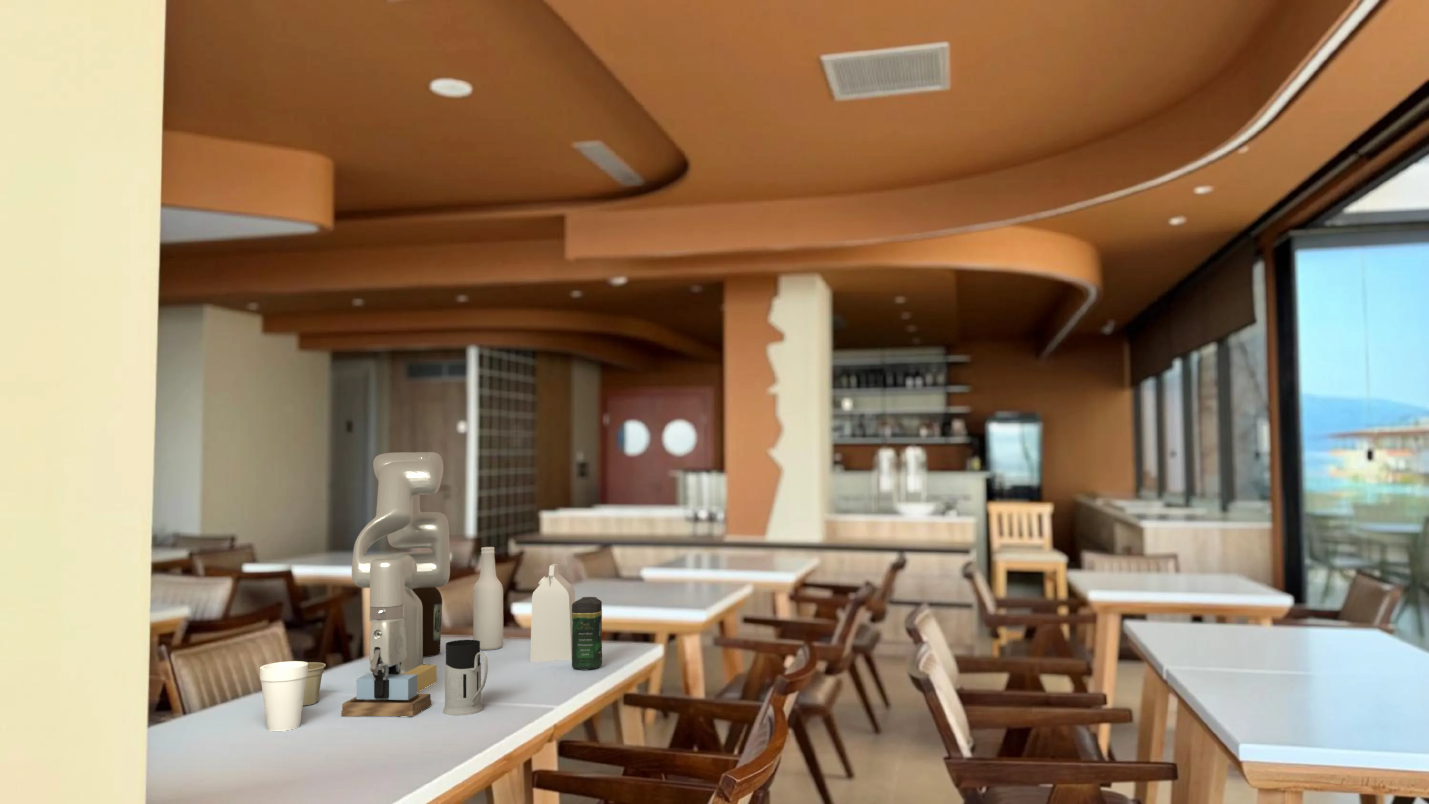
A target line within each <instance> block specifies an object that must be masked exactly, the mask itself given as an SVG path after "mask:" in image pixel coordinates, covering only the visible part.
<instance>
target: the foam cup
mask: <svg viewBox="0 0 1429 804" xmlns="http://www.w3.org/2000/svg"><path fill="white" fill-rule="evenodd" d="M308 663H309V662H307V661H300V660H299V661H298V660H293V661H291V660H289V661H278V662H271V663H266V664H264V665H261V666H260V668H259V681H260V683H261V690H262V697H263V707H264V714H265V719H266V728H267V731H268V730H270V731H269V732H272V731H282V732H287V731H286V730H289V731H292V730H291V729H293V730H296V729H295V728H297V727H299V726H301V722H302V714H303V707H304V706H303V699H304V692H305V684H306V677H307V675H308ZM299 728H300V727H299ZM297 729H298V728H297Z"/></svg>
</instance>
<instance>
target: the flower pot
mask: <svg viewBox="0 0 1429 804" xmlns="http://www.w3.org/2000/svg"><path fill="white" fill-rule="evenodd" d="M307 663H308V675H307V677H306V684H305V692H304V699H303V705H308V706H312V705H311V704H313V705H316V702H317V703H318V702H319V697H320V690H321V689H320V688H321V682H322V677H323V673H324V670H325V668H326V665H327V664H326V663H324V662H314V661H313V662H307Z"/></svg>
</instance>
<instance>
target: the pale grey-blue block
mask: <svg viewBox="0 0 1429 804" xmlns="http://www.w3.org/2000/svg"><path fill="white" fill-rule="evenodd" d="M387 680H389V697H388V698H374V680H373V674H372V673H366V674H364V675H362V676H360V677H358V678H356V697H357V699H374V700H409V699H411V698H412V697H414V696H416V695H417V694H418V693H417V675H414V674H388V676H387Z"/></svg>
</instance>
